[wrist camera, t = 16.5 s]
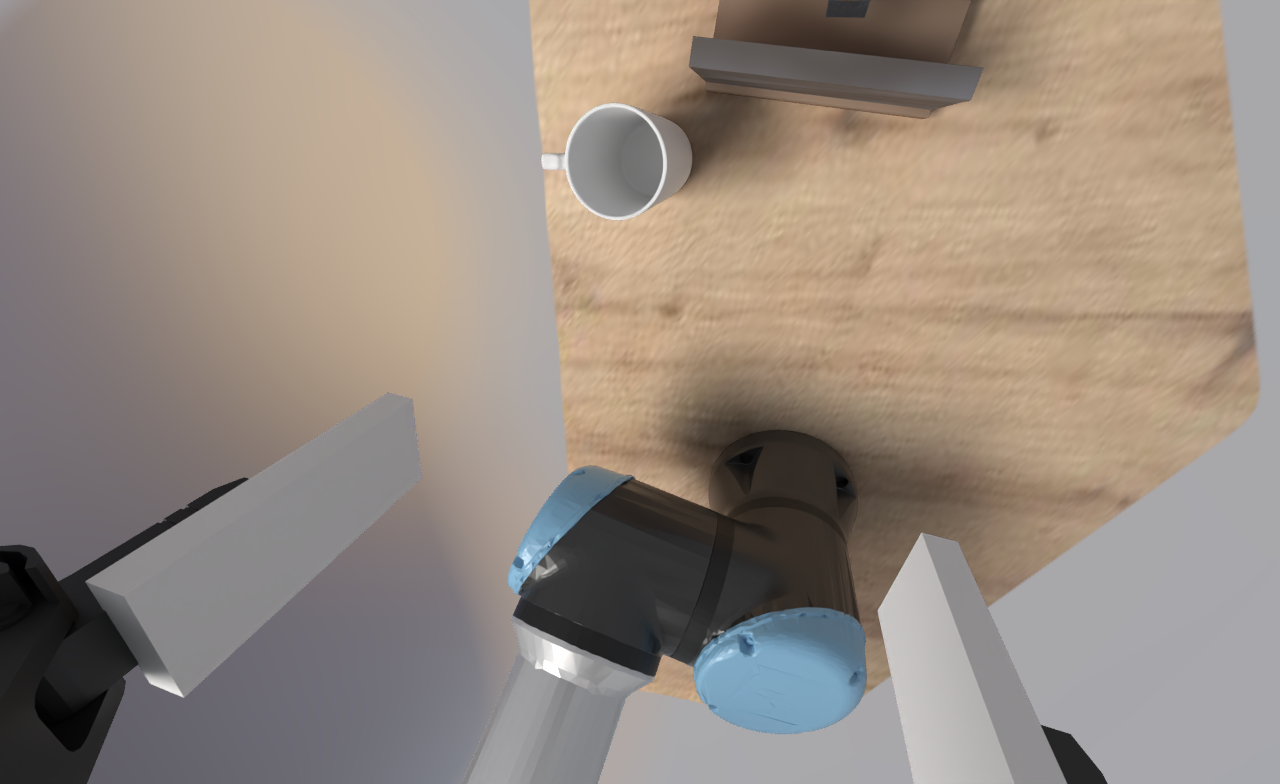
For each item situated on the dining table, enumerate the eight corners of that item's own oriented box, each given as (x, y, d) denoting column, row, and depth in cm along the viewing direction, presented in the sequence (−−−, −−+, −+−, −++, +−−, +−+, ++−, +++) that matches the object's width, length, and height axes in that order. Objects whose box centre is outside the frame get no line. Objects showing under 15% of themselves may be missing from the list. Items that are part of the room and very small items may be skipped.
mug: (699, 115, 38) (670, 103, 28) (693, 204, 41) (664, 223, 31) (581, 112, 40) (514, 101, 30) (583, 198, 44) (523, 213, 33)
